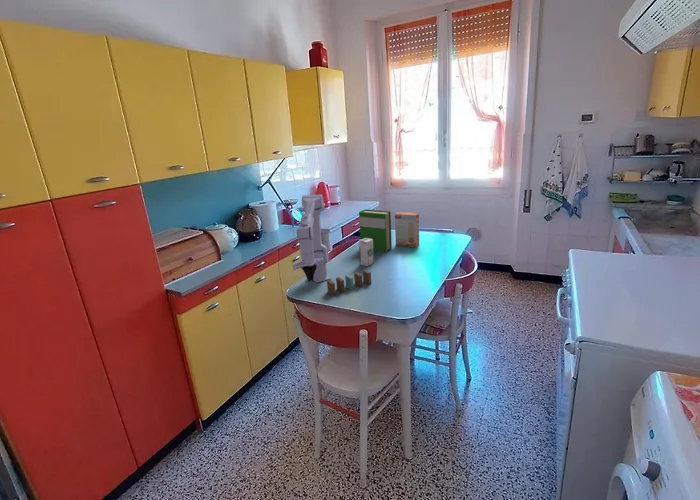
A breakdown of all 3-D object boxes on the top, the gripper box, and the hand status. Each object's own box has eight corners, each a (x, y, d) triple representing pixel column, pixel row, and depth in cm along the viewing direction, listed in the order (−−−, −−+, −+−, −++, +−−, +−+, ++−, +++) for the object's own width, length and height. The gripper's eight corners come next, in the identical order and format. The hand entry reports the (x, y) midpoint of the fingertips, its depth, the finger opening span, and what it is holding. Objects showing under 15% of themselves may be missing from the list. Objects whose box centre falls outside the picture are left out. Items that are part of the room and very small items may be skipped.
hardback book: (391, 248, 227) (390, 211, 219) (386, 252, 221) (384, 214, 213) (367, 245, 236) (365, 209, 228) (361, 249, 231) (358, 212, 223)
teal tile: (348, 285, 181) (347, 274, 179) (353, 289, 176) (353, 277, 174) (346, 286, 180) (345, 275, 178) (351, 289, 176) (350, 278, 174)
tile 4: (368, 284, 180) (367, 273, 178) (363, 281, 184) (362, 270, 182) (371, 283, 181) (370, 272, 179) (366, 280, 185) (365, 269, 183)
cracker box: (419, 245, 230) (419, 212, 223) (416, 248, 225) (415, 215, 218) (399, 242, 237) (398, 211, 230) (395, 245, 233) (394, 213, 226)
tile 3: (359, 287, 178) (359, 275, 176) (354, 283, 182) (354, 272, 180) (362, 286, 179) (362, 275, 177) (357, 282, 183) (356, 271, 181)
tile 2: (341, 292, 174) (340, 281, 172) (337, 289, 178) (336, 277, 176) (344, 291, 174) (343, 280, 172) (339, 288, 178) (338, 276, 176)
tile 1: (332, 295, 171) (331, 284, 169) (327, 291, 176) (326, 280, 174) (335, 294, 172) (334, 283, 170) (330, 290, 176) (329, 279, 174)
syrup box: (365, 261, 210) (364, 237, 205) (374, 263, 206) (373, 238, 201) (359, 264, 206) (358, 240, 201) (368, 266, 202) (366, 241, 197)
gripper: (295, 258, 155) (298, 287, 160) (325, 251, 162) (328, 279, 166) (289, 254, 161) (293, 282, 166) (319, 247, 167) (321, 274, 172)
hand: (310, 280), depth 166 cm, fingers closed
